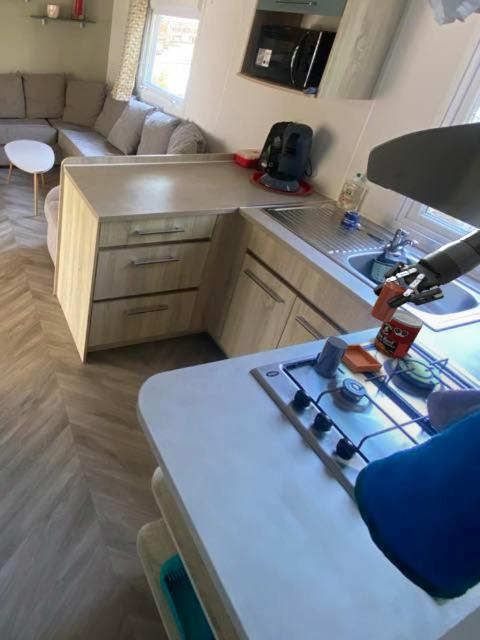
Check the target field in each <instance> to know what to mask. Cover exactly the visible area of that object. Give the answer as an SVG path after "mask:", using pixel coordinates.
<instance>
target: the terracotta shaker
mask: <svg viewBox="0 0 480 640" xmlns="http://www.w3.org/2000/svg"><path fill="white" fill-rule="evenodd" d="M384 282H385V281H384ZM407 290H408V289H407V288H406V287H405V286H401V285H399V284H396V283H394V282H385V284H384V286H383V288H382V290H381V292H380V294H379V296H377V298H376V300H375V302H374V303H373V306H372V309H371V310H370V312H369V313H370V315H371V316H372V317H373V318H374V319H376V320H378V321H380V322H382V323H383V322H390V321H391V320H392V318H393V316H394V314H395V312H396V310H397V309H398V308H393V309H391V308H390V307H389V306H388V304H387V302H388V301H389V300H391V299H393V298H395V297H397V296H398V295H400V294H402V295H403V294H404V293H405V292H406V291H407Z"/></svg>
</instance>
